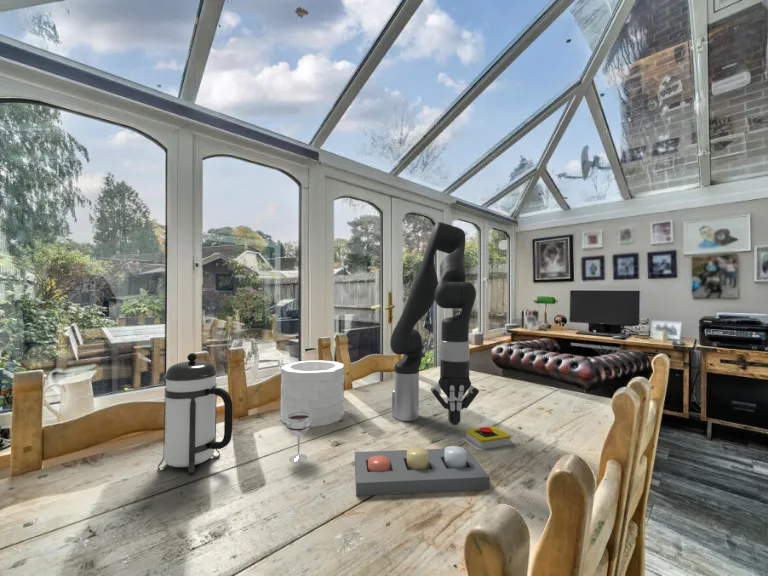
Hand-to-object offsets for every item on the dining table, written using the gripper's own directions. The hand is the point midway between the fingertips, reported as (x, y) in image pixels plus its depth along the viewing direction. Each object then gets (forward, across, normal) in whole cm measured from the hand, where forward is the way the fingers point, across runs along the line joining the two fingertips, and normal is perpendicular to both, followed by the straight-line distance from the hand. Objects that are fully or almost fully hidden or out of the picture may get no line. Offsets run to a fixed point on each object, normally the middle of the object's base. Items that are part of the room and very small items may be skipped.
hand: (454, 424), depth 92 cm
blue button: (+11, 0, 0) cm, 11 cm away
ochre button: (+11, -10, 0) cm, 15 cm away
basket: (+13, -41, +46) cm, 63 cm away
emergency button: (+14, +17, +19) cm, 29 cm away
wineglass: (+13, -42, +12) cm, 45 cm away
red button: (+13, -20, 0) cm, 24 cm away
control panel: (+13, -10, 0) cm, 16 cm away
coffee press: (+13, -69, +11) cm, 71 cm away
